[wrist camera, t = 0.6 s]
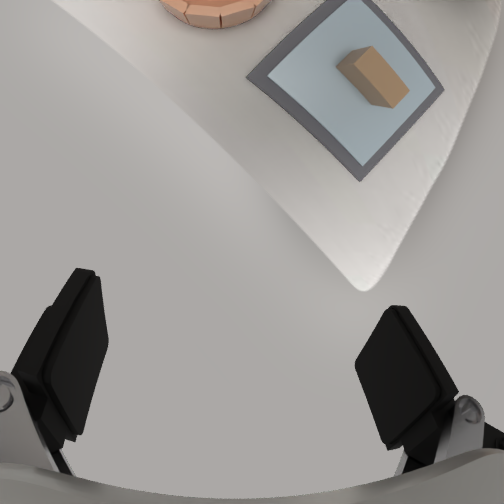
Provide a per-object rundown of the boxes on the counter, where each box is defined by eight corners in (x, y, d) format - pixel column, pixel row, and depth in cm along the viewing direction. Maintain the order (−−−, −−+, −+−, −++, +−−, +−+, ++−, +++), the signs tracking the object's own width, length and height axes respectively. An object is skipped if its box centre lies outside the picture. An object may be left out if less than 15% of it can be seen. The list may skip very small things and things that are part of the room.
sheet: (352, -5, 23) (374, -17, 18) (432, 87, 28) (460, 91, 24) (266, 76, 28) (274, 72, 23) (360, 165, 33) (381, 178, 29)
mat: (349, -18, 22) (350, -19, 22) (442, 89, 29) (444, 89, 29) (245, 77, 28) (246, 77, 28) (358, 180, 35) (359, 181, 34)
